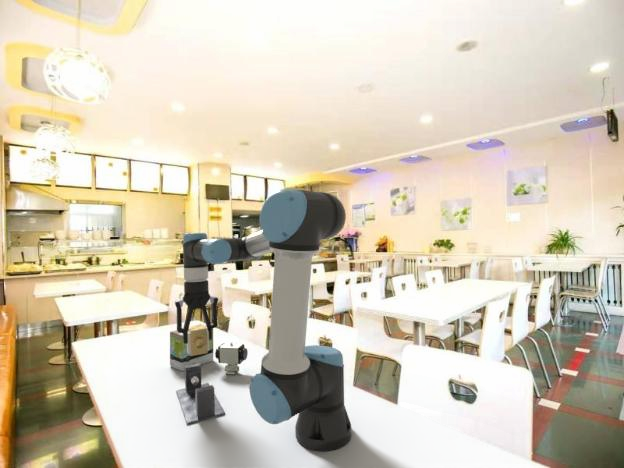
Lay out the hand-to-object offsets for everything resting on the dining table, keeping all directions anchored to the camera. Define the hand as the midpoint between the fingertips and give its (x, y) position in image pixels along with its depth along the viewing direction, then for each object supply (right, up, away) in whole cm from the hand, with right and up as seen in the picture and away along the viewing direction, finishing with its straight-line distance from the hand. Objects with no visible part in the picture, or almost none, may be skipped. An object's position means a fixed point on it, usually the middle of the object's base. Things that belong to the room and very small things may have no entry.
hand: (198, 351), depth 112 cm
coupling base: (0, -17, 0) cm, 17 cm away
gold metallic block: (0, 0, 0) cm, 0 cm away
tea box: (-14, -17, +34) cm, 41 cm away
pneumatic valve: (+6, -17, +23) cm, 29 cm away
